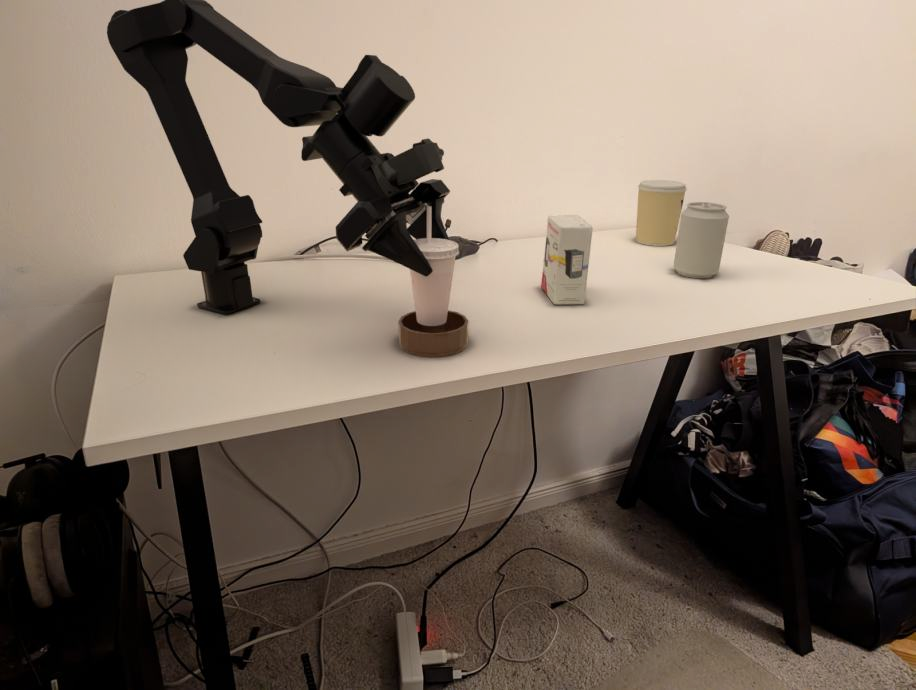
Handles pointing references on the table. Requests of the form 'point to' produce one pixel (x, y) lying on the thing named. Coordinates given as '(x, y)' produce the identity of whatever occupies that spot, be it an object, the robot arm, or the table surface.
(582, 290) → the ink box
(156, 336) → the table surface
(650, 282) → the table surface
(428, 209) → the smoothie
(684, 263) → the can
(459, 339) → the brown bowl
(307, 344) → the table surface
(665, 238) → the yellow lidded canister
